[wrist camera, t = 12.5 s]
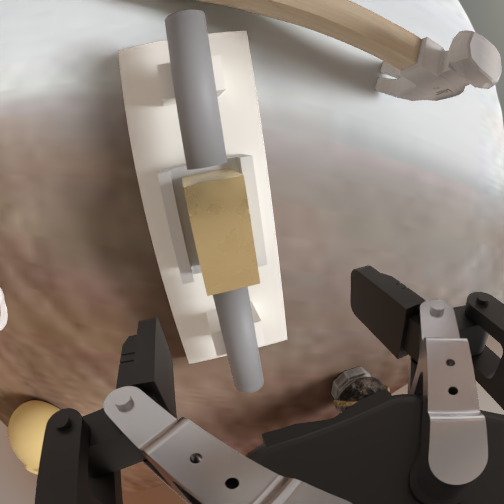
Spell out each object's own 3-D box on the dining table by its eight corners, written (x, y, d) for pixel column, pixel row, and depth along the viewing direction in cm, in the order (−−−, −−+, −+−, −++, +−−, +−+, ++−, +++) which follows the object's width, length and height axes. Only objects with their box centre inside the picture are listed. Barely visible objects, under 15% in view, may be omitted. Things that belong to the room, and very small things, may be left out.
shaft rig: (188, 356, 36) (195, 406, 28) (120, 54, 23) (102, 25, 15) (283, 332, 38) (309, 376, 30) (243, 35, 25) (267, 2, 17)
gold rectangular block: (200, 264, 28) (207, 296, 22) (181, 177, 25) (183, 187, 19) (243, 254, 28) (260, 283, 23) (228, 167, 25) (243, 175, 20)
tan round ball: (54, 444, 37) (45, 493, 27) (5, 398, 32) (-14, 449, 22) (100, 432, 37) (95, 489, 28) (48, 382, 32) (30, 441, 23)
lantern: (322, 405, 45) (394, 527, 22) (327, 371, 42) (417, 505, 20) (367, 390, 47) (446, 495, 24) (376, 355, 44) (472, 467, 21)
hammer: (123, -49, 12) (501, 94, 15) (152, -86, 11) (505, 51, 14) (168, 24, 27) (412, 111, 30) (184, -6, 26) (420, 80, 29)
